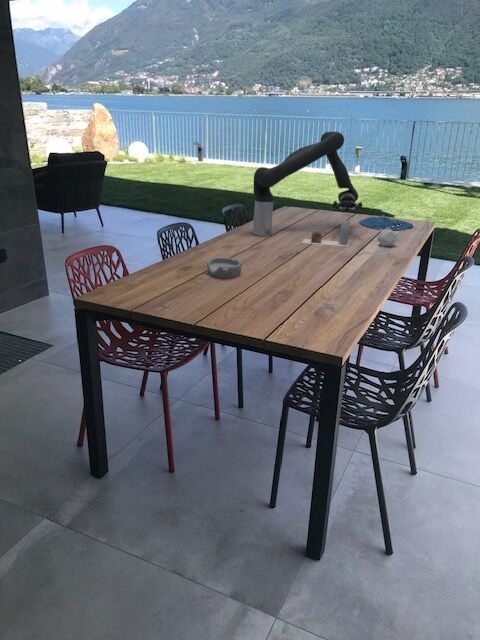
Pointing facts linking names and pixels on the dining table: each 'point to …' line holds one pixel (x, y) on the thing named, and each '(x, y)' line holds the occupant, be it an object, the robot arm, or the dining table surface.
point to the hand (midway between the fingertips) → (347, 207)
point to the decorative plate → (385, 223)
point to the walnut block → (316, 237)
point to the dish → (224, 267)
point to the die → (386, 238)
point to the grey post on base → (343, 236)
